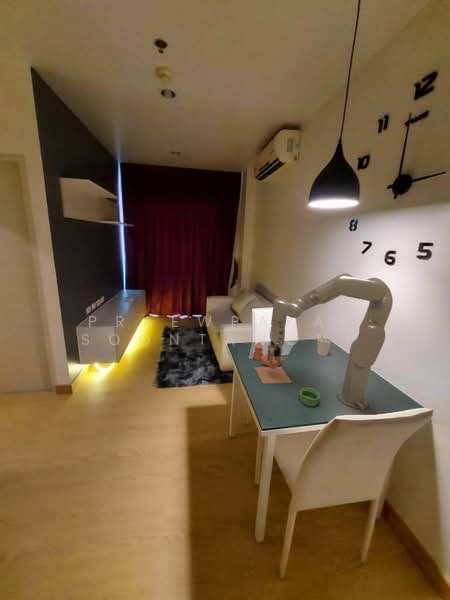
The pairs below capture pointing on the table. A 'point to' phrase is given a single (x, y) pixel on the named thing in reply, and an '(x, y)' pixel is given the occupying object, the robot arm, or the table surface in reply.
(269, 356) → the stool
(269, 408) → the table surface
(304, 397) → the ramekin
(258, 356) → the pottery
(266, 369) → the mat
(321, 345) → the white cup
